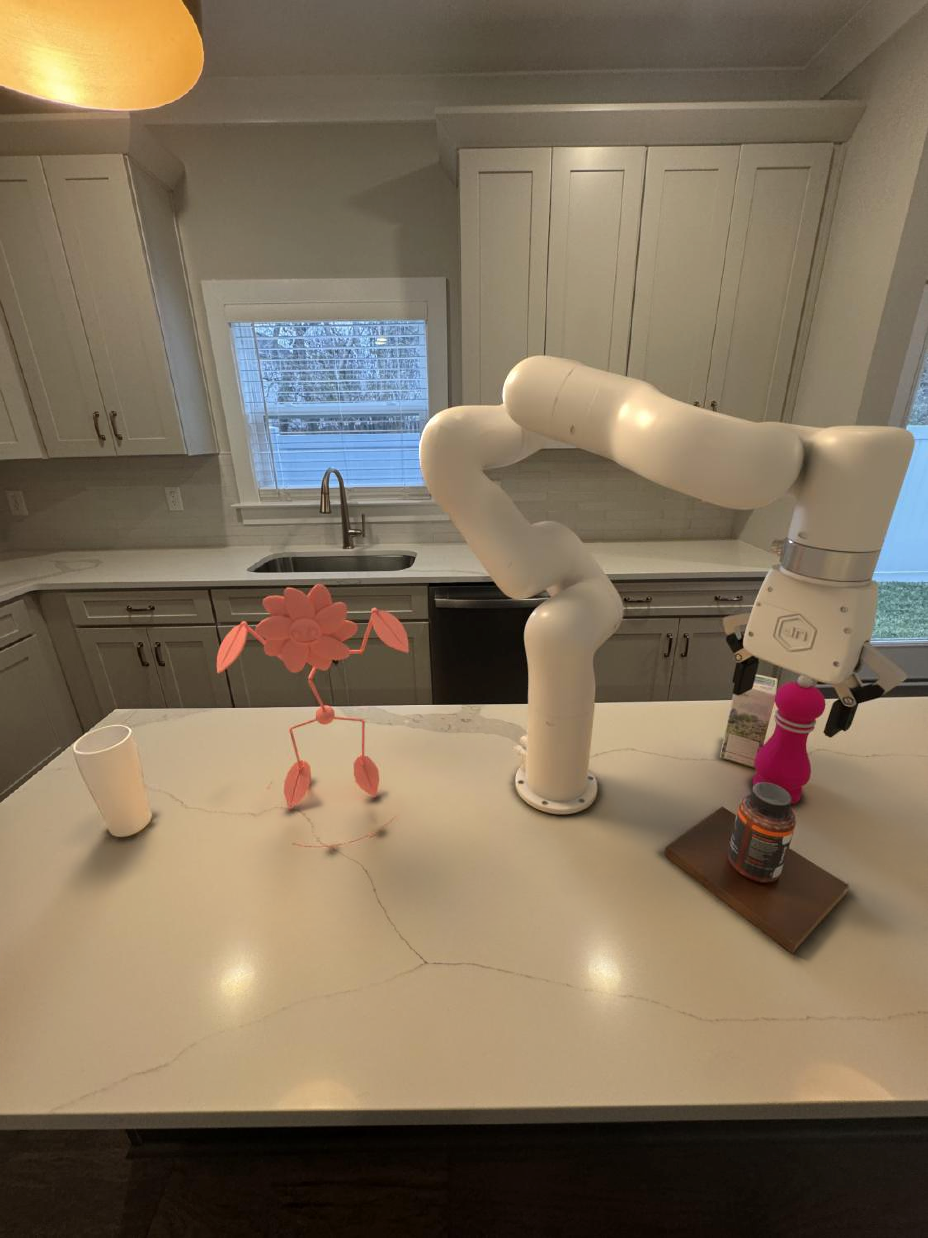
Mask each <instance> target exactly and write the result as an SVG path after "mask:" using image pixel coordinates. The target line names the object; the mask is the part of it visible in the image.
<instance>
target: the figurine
mask: <svg viewBox="0 0 928 1238" xmlns="http://www.w3.org/2000/svg"><path fill="white" fill-rule="evenodd" d="M262 607H263V608H264V609H265V610H266V612H267V613H268V614H269V615H270V616H268V617H267V618H265V619H262V620H261V621H260V622H259V623H258V624H256V626H255V628H254V629H252V627H250V626H249V625H248V622H247V621H244V620H243V621H241V622H240V624H238V625H236V626H233V628H231V630H230V631H229V632H228V633H227V634H226V635H225V637H224V638H223V640H222V642H221V644H220V645H219V649H218V651H217V655H216V673H217V674H218V675H219V674H221V673H222V672H224V671H225V670H226V669H227V668H230V666H231V665H232V664H233V663H234V662H236V661H237V659H238V658H239V657H240V655H241V654H242V652H243V650H244V647H245V645H246V643H247V638H248V633H250V634H251V636H252V637H254V638H255V639H256V640H258V641H259V642H260V643H261V644H262V645H263V651H264V654H265V655H266V656H269V657H277V658H278V659H279V660H280V661H281V662H283V664H284V667H286V669H287V670H288V671H289V672H290V673H291V674H294V673H295V674H296V673H300V672H301V671H303V670H304V668H305V666H306V663H307V664H308V665H310V666H311V667H312V669H311V671H310V673H309V675H308V677H307V679H308V681H307V683H308V685H309V687H310V689H311V691H312V692H313V695H314V697H315V699H316V700H317V702H318V704H319V707H318V708H317V709H316V711H315V718H313V719H310V720H307V721H304V722H301V723H298V724H296V725H293V726H289V729H288V730H289V734H290V738H291V742H292V746H293V751H294V754H295V758H296V762H294V764H293V765H292V766H291V767H290V769H289V770H288V772H287V773H286V776H285V779H284V785H283V794H284V797H285V802H286V805H287V807H288V809H289V810H291V809H293V808H294V807H295V806H296V805H297V804H298V803H300V802H301V800H302V799H304V797H306V794H307V793H308V790H309V789H310V785H311V780H312V771H311V766H310V764H309V763H308V762H307V760H303V759H300V755H299V751H298V747H297V743H296V740H295V736H294V731H293V730H294V729H296V728H300V727H302V726H305V725H309V724H311V723H314V722H317V723H319V724H321V725H330V724H331V723H332V722H333V721H334V720H337V721H338V720H339V721H353V722H361V755H360V756H357V757H356V758H355V760H354V762H353V778H354V780H355V783H356V784H357V786H358V787H359V788H360V790H362V791H364V792H365V793H367V794H368V795H369V796H372V797H373V798H376V797H377V795H378V791H379V785H380V774H379V769H378V767H377V764H376V763H375V762H374V760H372V759H371V758H370V757H369V756H368V755H365V734H366V733H365V732H366V731H365V730H366V729H365V727H366V725H365V724H366V721H365V719H364V718H355V717H354V718H353V717H345V716H344V717H343V716H336V714H335V713H336V712H335V710H334V708H333V707H332V706H331V705H325V704H324V703H323V700H322V698H321V696H320V694H319V692H318V690H317V688H316V686H315V684H314V681H313V679H314V676H315V673H316V671H317V670H320V671H327V670H329V668H331V664H332V661H339V660H345V659H347V658H349V657H350V655H351V654H357V655H358V654H360V655H361V654H363V652H365V648H366V646H367V643H368V640H369V637H370V636H369V635H370V633H371V631H372V627H373V631H374V632H375V634H376V635H377V637H378V638H379V640H380V641H382V642H383V643H384V644H385V645H386V646H387V647H388V648H391V649H394V650H396V651H399V652H401V653H405V654H409V639H408V634H407V632H406V631H407V630H406V629H405V627H404V625H403V623H402V622H401V621H400V619H398V618H397V616H395V615H394V614H392V613H391V612H390V613H389V612H388V611H387V610H385V609H384V610H383V609H378V608H377V607H372V608H371V610H370V611H371V615H370V617H369V621H368V624H367V627H366V630H365V633H364V637H363V640H362V643H361V646H360V649H350V648H349V646H348V645H347V644H345V643H344V641H346V640H348V639H350V638H352V637H354V635H356V633H357V632H358V629H359V626H358V625H357V623H356V622H354V621H352V620H348V619H347V615H348V607H347V604H346V603H345V602H343V601H338V602H334V603H333V600H332V595H331V592H330V591H329V589H328V588H327V586H325V585H324V584H322V583H317V584H315V585H314V586H313V587H312V588H311V589H310V590H309V592H308V593H307V594H306V593H304V592H303V591H301V590H299V589H296V588H294V587H286V588H285V589H284V590H283V596H282V595H269V596H266V597H265V598H263V599H262ZM264 638H265V639H264ZM272 783H273V781H271V782H270V784H269V785H268V786H267V788H266V789H267V790H268V789H269V788H270V786H271V784H272ZM397 816H398V814H395V816H394V817H393V818H392V819H390V820H389V822H387V823H386V824H384V825H383V826H381V827H380V828H379V829H377V830H375V831H373V832H371V833H370V834H368V835H365V836H362V837H360V838H358V839H355V840H351V841H348V842H345V843H340V844H334V845H324V846H320V848H328V851H330V850H334V849H336V847H337V849H339V848H340V847H338V846H343V845H347V844H350V843H354V842H357V841H360V840H362V839H364V838H367V837H369V836H370V837H369V839H371V838H372V837H374V836H376V835H377V832H379V831H380V830H382V829H383V828H384V827H386V826H387V825H389V824H390V823H391V822H392V821H393V820H394V819H395V818H396V817H397ZM371 835H372V836H371ZM292 845H296V846H299V847H305V848H318V846H315V845H314V846H312V845H302V844H298V843H294V842H292Z"/></svg>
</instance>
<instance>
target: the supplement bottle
mask: <svg viewBox="0 0 928 1238" xmlns="http://www.w3.org/2000/svg"><path fill="white" fill-rule="evenodd" d="M791 805H792V804H791V796H790V794H789V793H788V792H787V791H786V790H785V789H783V788H781V787H780V786H778V785H775V784H772V783H766V782H761V783H757V784H755V785H754V786H753V785H752V789H751V792H750V793H749V794H746V795H745V796H743V797H742V798H741V799H740V801H739V803H738V807H737V812H736V814H735V815H736V820H735V824H734V828H733V833H732V837H731V841H730V846H729V851H728V857H729V861H730V863H731V864H732V866H733V867H734V868H735V869H736V870H737V871H738V872H739V873H741V874H742V875H743V876H745V877H747V878H749V879H751V880H754V881H757V882H762V883H769V882H773V881H775V880H777V879H778V878H779V877H780V875H781V872H782V870H783V867H784V863H785V859H786V856H787V852H788V849H789V848H790V846H791V841H792V838H793V835H794V831H795V828H796V823H797V819H796V815H795V813H794V811H793V810H792V809H791Z"/></svg>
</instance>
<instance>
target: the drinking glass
mask: <svg viewBox="0 0 928 1238" xmlns="http://www.w3.org/2000/svg"><path fill="white" fill-rule="evenodd" d="M72 752H73V755H74V760H75V763H76V765H77V768H78V770H79V773H80V775H81V777H82V780H83V781H84V783H85V786H86V788H87V789H88V791H89V793H90V795H91V796H92V799H93V801H94V802H95V805H96V806H97V808H98V810H99V812H100V814H101V816H102V818H103V820H104V822H105V825H106V827H107V830H108V832H109V834H111V835H112V836H113V837H115V838H116V837H117V838H125V837H129V836H132V835H135V834H138V833H139V832H141V831H142V830H144V828H146V827H147V826H148V825H149V823H150V822H151V820H152V816H153V814H152V810H151V807H150V804H149V799H148V794H147V788H146V782H145V778H144V772H143V766H142V761H141V757H140V752H139V749H138V745H137V743H136V739H135V737H134V734H133V732H132V729H131V728H130V727H129V726H127V725H122V724H113V725H112V724H111V725H107V726H103V727H99V728H96V729H93V730H91V731H89V732H87V733H85V734H84V735H82V736H81V737H79V738H78V739H77V740H76V741H75V742H74V743H73V745H72Z"/></svg>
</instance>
